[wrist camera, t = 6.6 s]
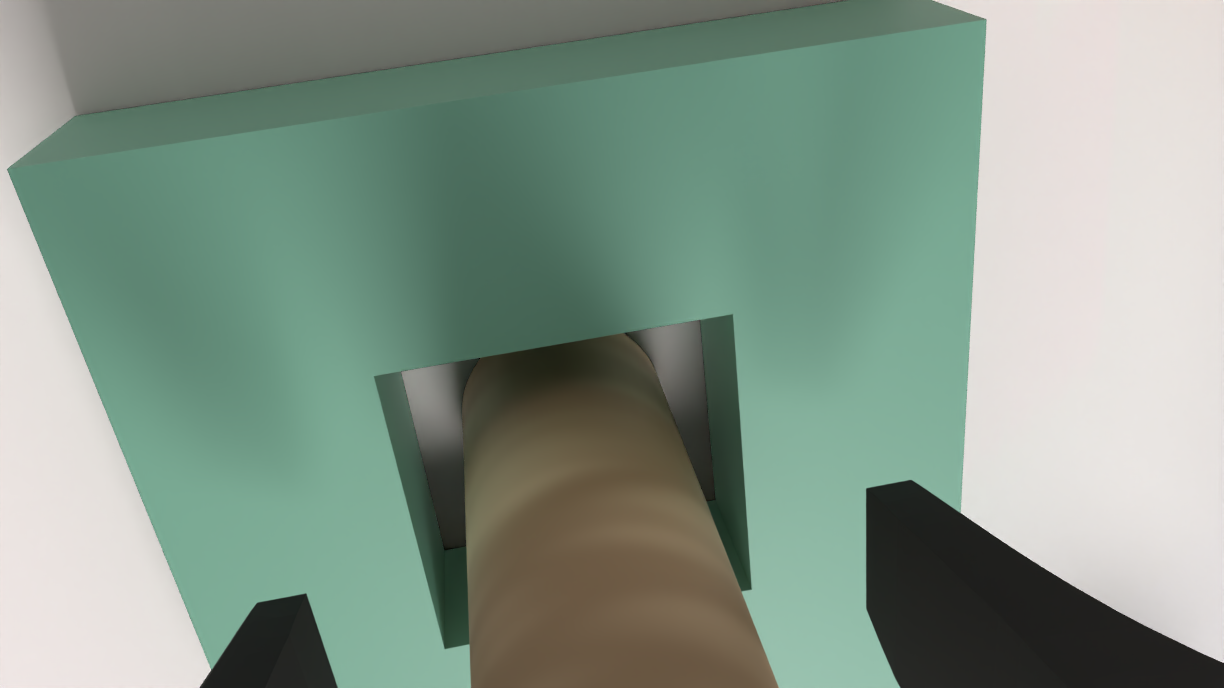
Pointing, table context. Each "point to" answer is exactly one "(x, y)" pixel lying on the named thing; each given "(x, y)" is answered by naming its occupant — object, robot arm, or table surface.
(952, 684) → the robot arm
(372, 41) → the table surface
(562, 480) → the dowel
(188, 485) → the socket block
